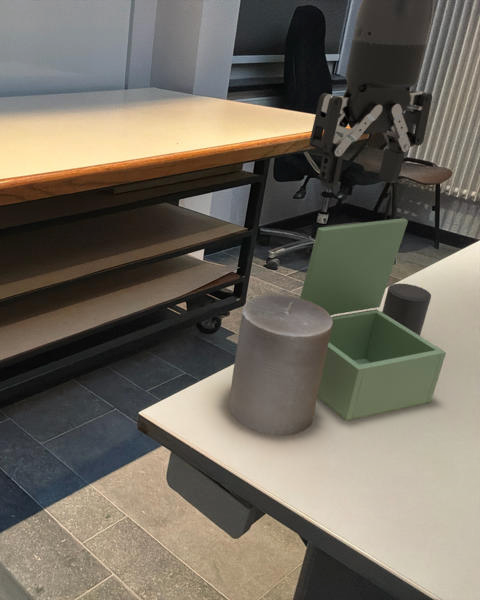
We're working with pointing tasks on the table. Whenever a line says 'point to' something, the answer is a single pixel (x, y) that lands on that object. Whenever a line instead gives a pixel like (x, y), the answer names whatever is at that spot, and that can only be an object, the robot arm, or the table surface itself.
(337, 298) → the lid
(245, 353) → the pillar candle
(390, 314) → the dark grey cylinder
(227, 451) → the table surface
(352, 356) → the bread box
